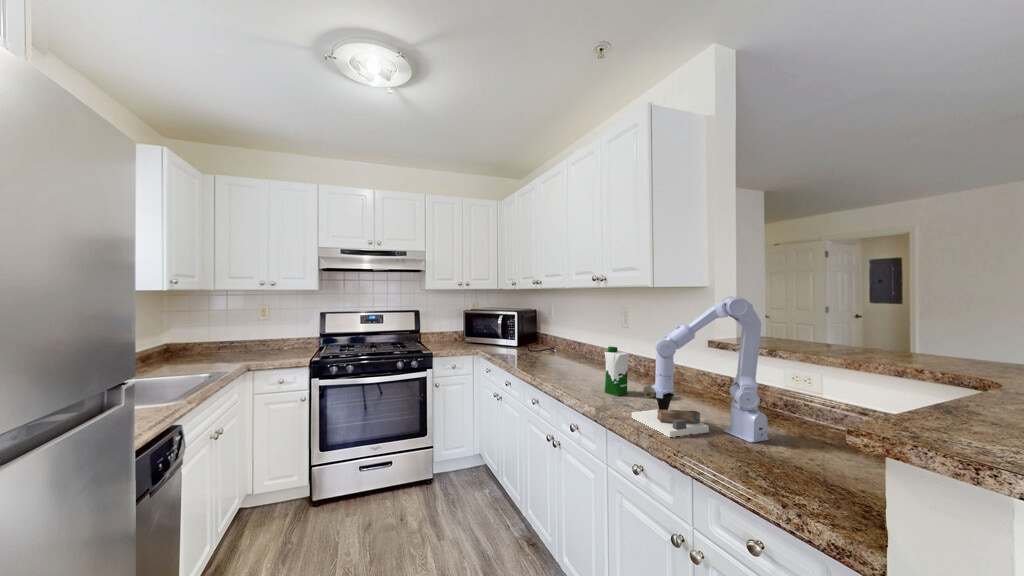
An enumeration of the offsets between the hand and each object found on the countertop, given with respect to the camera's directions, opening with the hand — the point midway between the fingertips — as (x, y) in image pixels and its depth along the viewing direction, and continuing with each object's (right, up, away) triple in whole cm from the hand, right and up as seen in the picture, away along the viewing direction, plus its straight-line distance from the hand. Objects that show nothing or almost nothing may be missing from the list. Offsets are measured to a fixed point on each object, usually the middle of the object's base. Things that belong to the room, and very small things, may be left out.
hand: (663, 414), depth 123 cm
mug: (+10, -4, +32) cm, 34 cm away
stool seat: (+1, -3, -1) cm, 4 cm away
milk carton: (-6, -4, +36) cm, 37 cm away
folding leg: (+4, -1, -3) cm, 5 cm away
